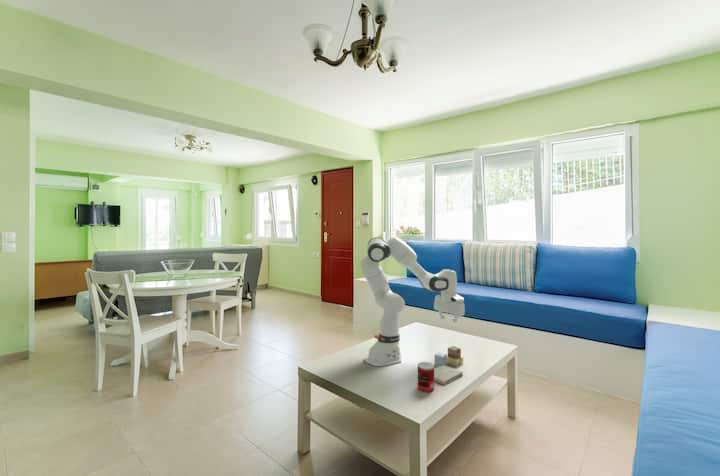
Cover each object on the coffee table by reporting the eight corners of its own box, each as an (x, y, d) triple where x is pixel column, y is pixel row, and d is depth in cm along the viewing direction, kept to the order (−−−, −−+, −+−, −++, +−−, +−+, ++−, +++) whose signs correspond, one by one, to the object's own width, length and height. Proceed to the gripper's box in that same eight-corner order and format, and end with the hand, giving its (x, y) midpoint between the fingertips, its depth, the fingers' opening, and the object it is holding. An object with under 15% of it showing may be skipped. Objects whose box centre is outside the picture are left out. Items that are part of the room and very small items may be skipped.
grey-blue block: (442, 367, 174) (442, 356, 174) (434, 365, 177) (434, 354, 177) (446, 364, 178) (446, 354, 178) (438, 362, 181) (438, 352, 181)
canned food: (431, 384, 154) (431, 361, 154) (436, 392, 146) (436, 368, 146) (416, 384, 154) (416, 361, 154) (419, 392, 146) (419, 368, 146)
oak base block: (457, 367, 175) (457, 360, 175) (445, 363, 180) (445, 356, 180) (463, 363, 180) (463, 356, 180) (451, 360, 185) (451, 353, 185)
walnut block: (454, 359, 176) (454, 350, 176) (447, 356, 180) (447, 347, 180) (460, 357, 179) (460, 348, 179) (453, 354, 183) (453, 346, 183)
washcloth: (464, 375, 165) (464, 369, 165) (444, 386, 153) (444, 380, 153) (444, 368, 174) (444, 363, 174) (424, 378, 162) (424, 372, 162)
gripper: (431, 294, 193) (431, 317, 193) (459, 300, 176) (459, 325, 176) (438, 293, 196) (438, 316, 196) (466, 299, 180) (466, 323, 180)
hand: (448, 320), depth 186 cm, fingers open, 8 cm apart
